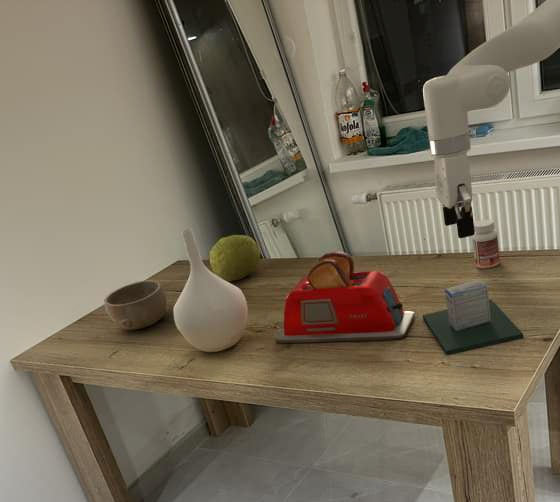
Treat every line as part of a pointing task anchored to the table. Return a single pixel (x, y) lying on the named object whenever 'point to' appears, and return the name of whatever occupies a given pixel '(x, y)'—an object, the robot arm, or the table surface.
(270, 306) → the table surface
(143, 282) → the bowl
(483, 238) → the pill bottle
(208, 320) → the vase
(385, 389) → the table surface
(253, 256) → the fruit
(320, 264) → the toaster
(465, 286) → the medicine box
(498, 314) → the mat
